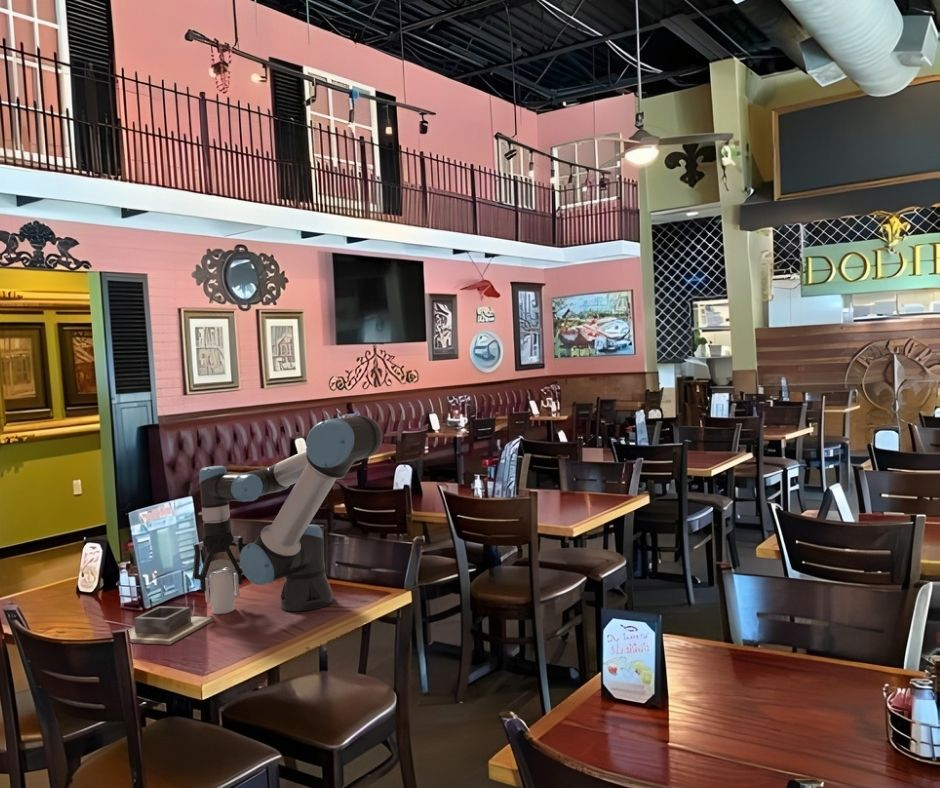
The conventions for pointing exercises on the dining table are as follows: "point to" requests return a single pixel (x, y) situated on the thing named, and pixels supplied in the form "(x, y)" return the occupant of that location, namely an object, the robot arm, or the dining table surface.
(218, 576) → the can
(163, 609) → the socket
